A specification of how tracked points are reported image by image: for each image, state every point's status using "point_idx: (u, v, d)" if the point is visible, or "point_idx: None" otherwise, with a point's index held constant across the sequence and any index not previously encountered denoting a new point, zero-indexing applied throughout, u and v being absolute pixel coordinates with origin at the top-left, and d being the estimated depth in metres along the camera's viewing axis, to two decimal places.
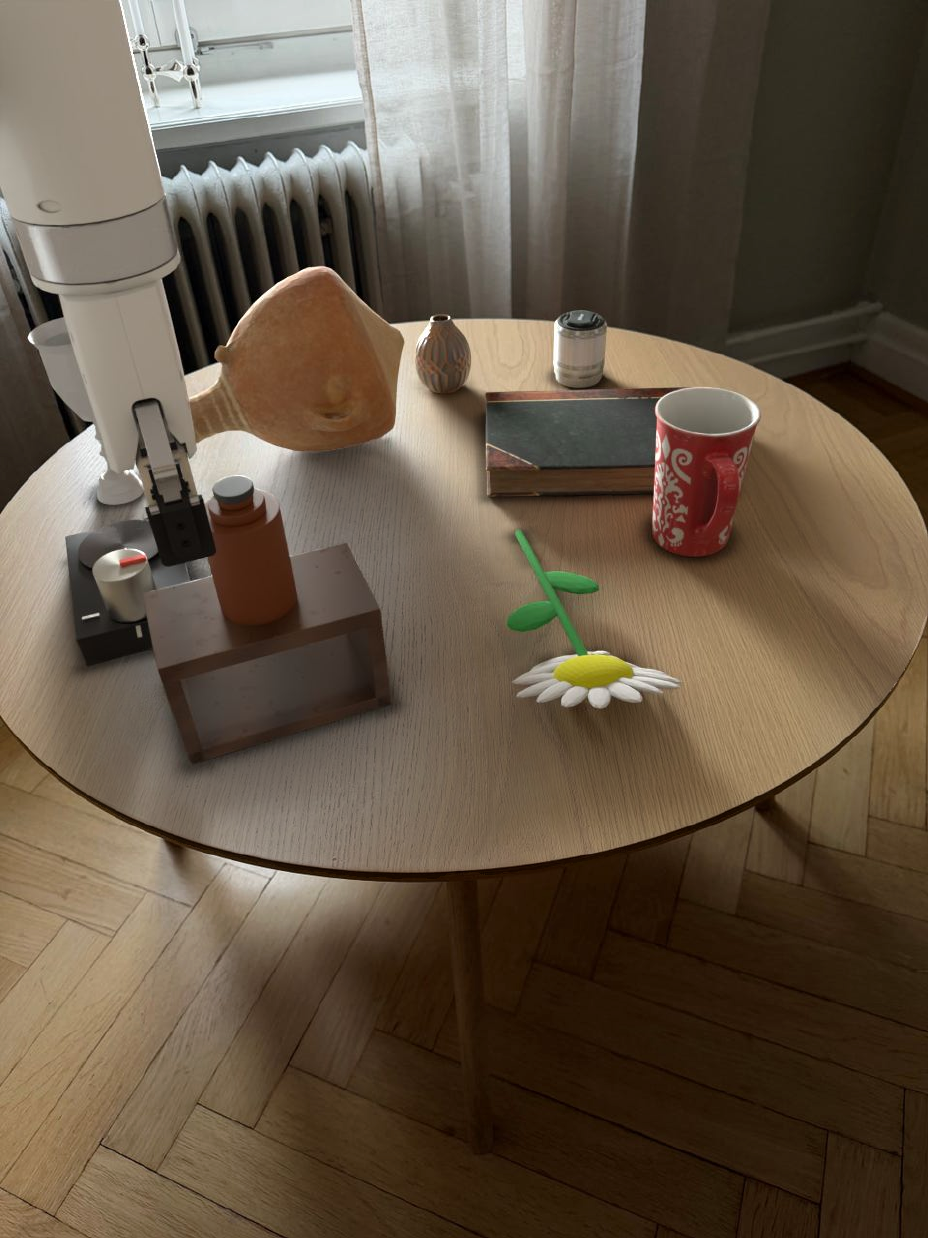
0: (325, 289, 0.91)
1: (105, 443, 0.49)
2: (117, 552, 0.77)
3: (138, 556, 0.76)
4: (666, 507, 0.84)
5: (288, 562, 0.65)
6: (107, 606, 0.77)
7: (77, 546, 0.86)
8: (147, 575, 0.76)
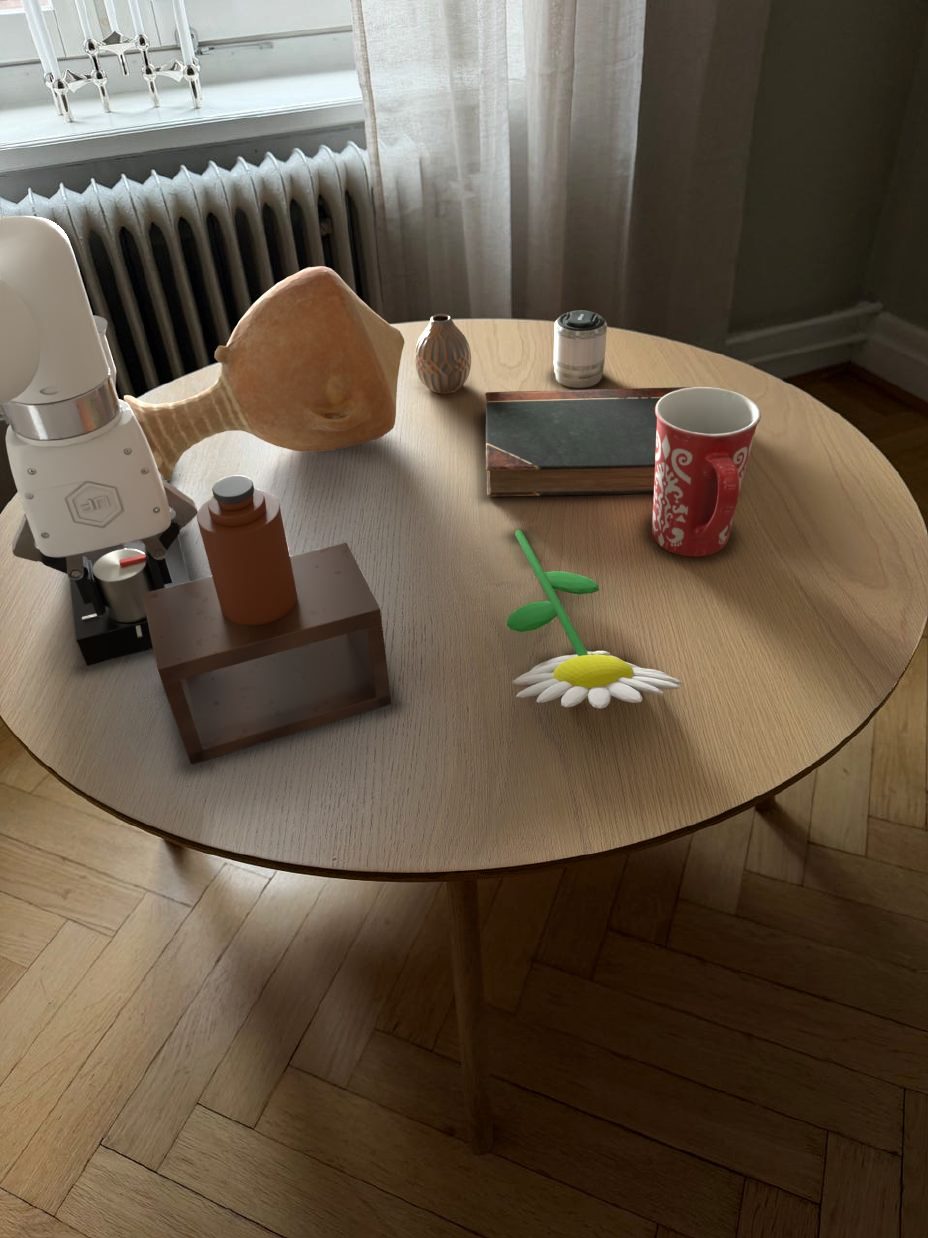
0: (325, 289, 0.91)
1: (163, 507, 0.72)
2: (117, 552, 0.77)
3: (138, 556, 0.76)
4: (666, 507, 0.84)
5: (288, 562, 0.65)
6: (107, 606, 0.77)
7: None
8: (147, 575, 0.76)
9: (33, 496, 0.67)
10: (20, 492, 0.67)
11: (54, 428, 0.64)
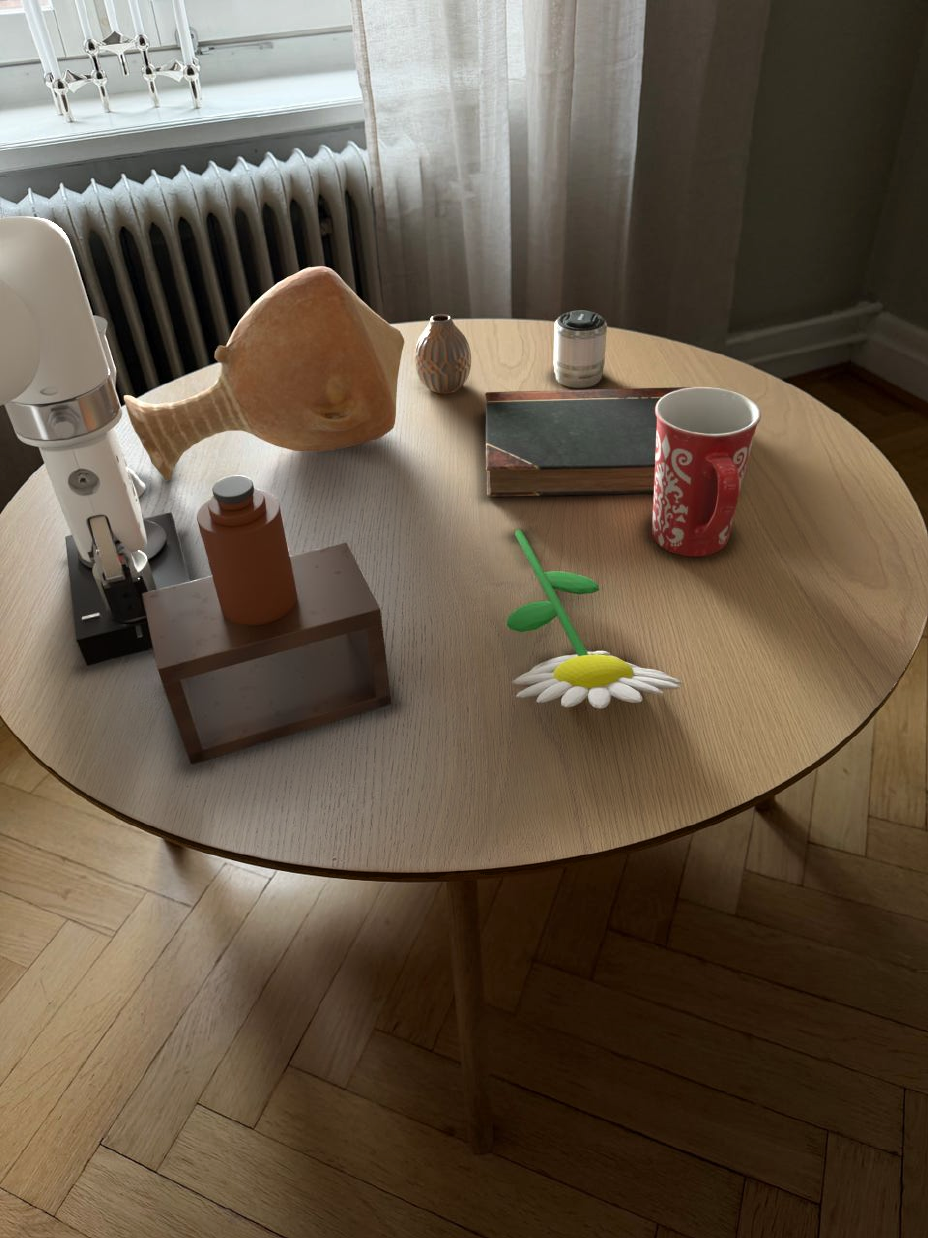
0: (325, 289, 0.91)
1: None
2: (97, 569, 0.76)
3: None
4: (666, 507, 0.84)
5: (288, 562, 0.65)
6: None
7: None
8: None
9: (125, 486, 0.68)
10: (120, 488, 0.67)
11: (116, 398, 0.67)
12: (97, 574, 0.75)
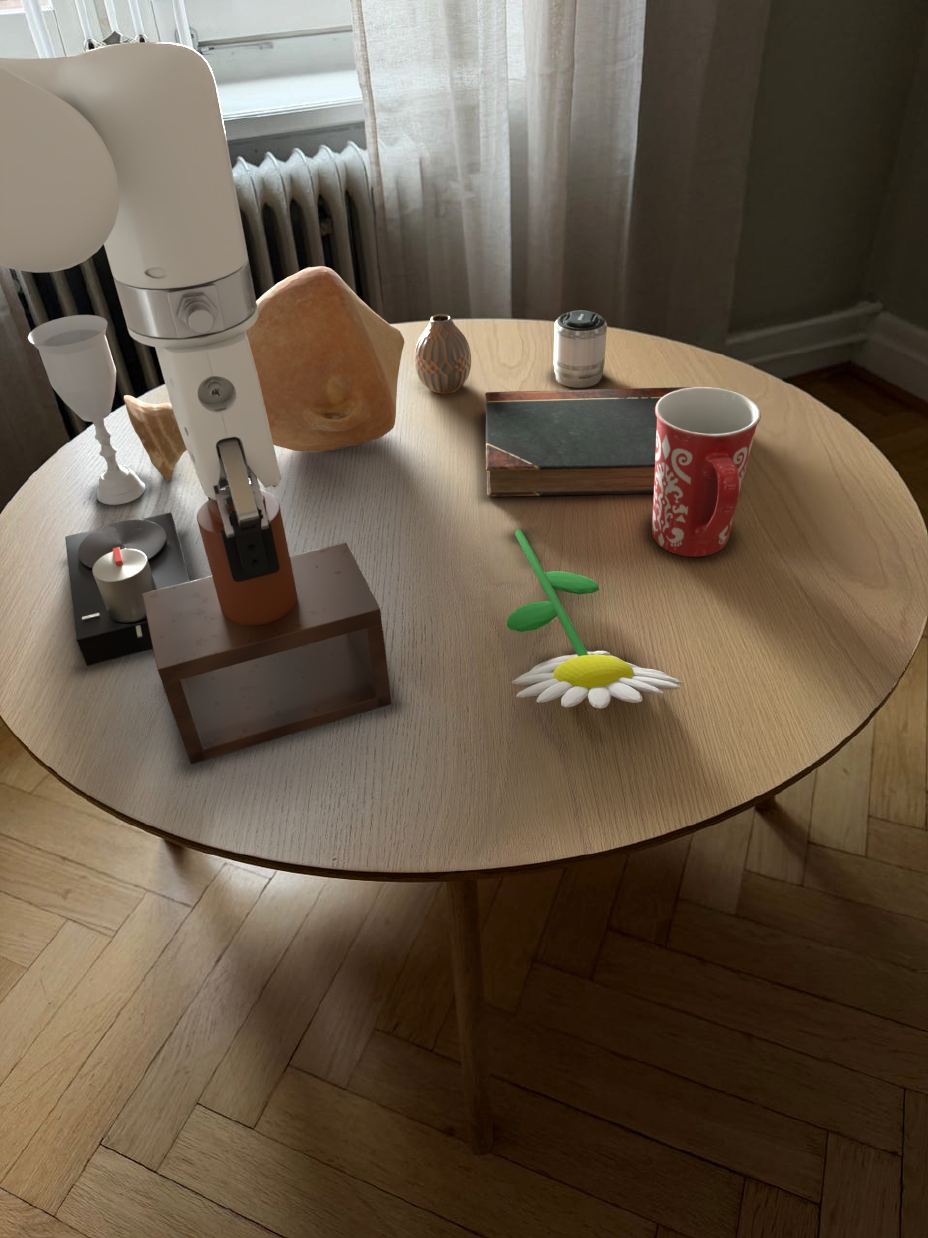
0: (325, 289, 0.91)
1: None
2: (97, 569, 0.76)
3: (115, 551, 0.77)
4: (666, 507, 0.84)
5: (288, 562, 0.65)
6: None
7: (77, 546, 0.86)
8: None
9: (262, 402, 0.54)
10: (259, 403, 0.54)
11: None
12: (97, 574, 0.75)
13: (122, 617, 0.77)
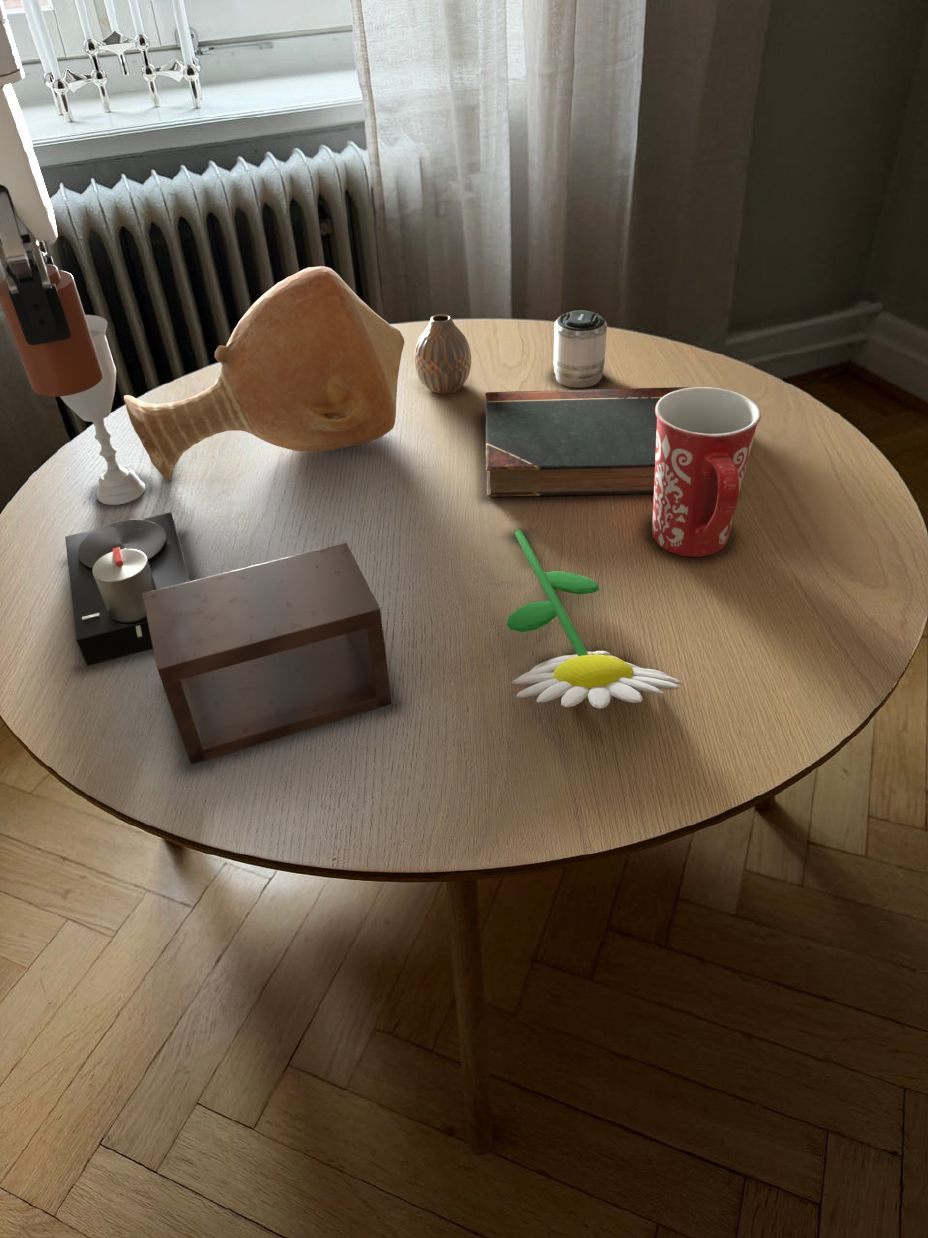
0: (325, 289, 0.91)
1: None
2: (97, 569, 0.76)
3: (115, 551, 0.77)
4: (666, 507, 0.84)
5: (87, 337, 0.72)
6: None
7: (77, 546, 0.86)
8: None
9: (28, 156, 0.61)
10: (21, 153, 0.60)
11: (15, 53, 0.60)
12: (97, 574, 0.75)
13: (122, 617, 0.77)
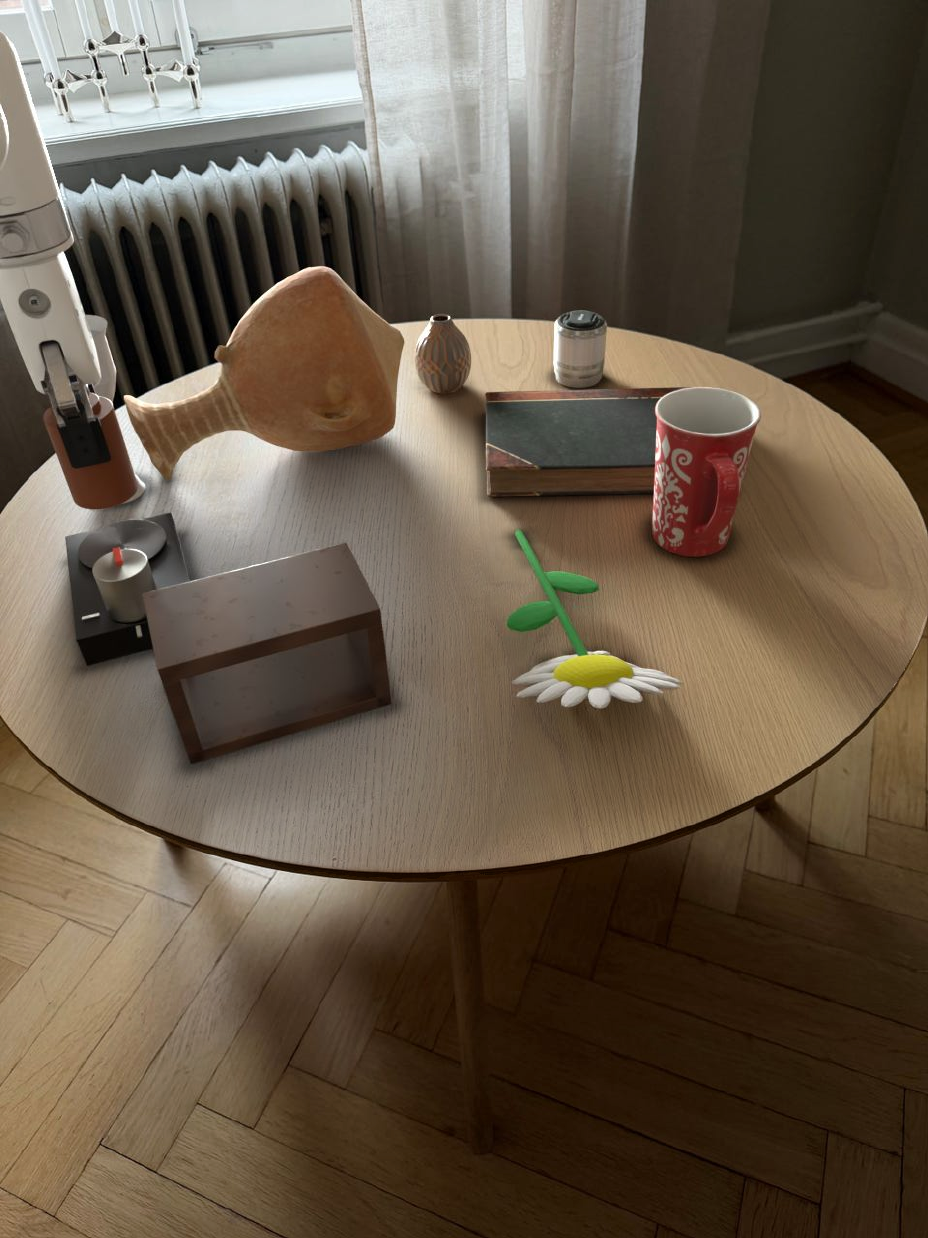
0: (325, 289, 0.91)
1: None
2: (97, 569, 0.76)
3: (115, 551, 0.77)
4: (666, 507, 0.84)
5: (124, 456, 0.79)
6: None
7: (77, 546, 0.86)
8: None
9: (77, 312, 0.68)
10: (72, 312, 0.68)
11: (67, 223, 0.67)
12: (97, 574, 0.75)
13: (122, 617, 0.77)
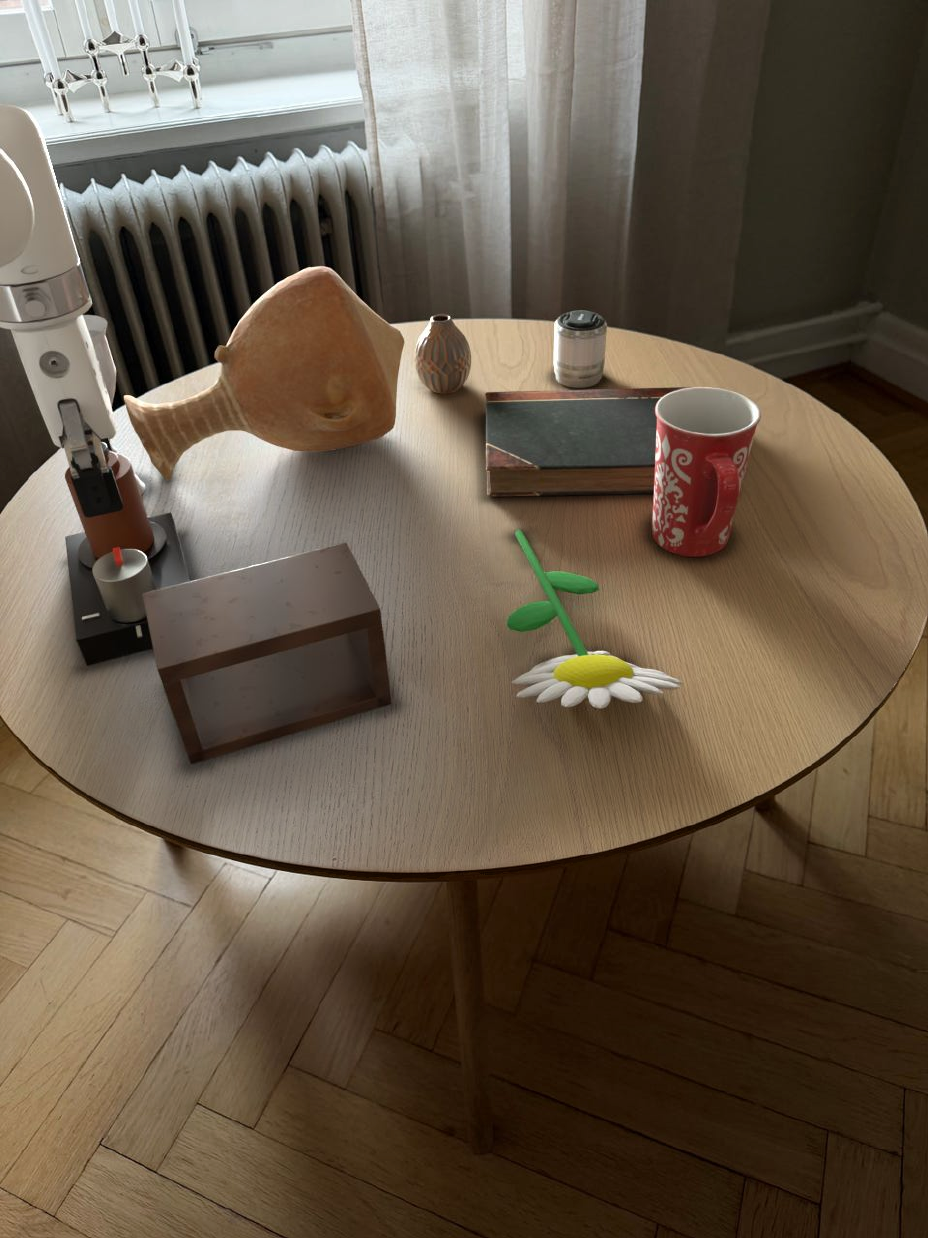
0: (325, 289, 0.91)
1: None
2: (97, 569, 0.76)
3: (115, 551, 0.77)
4: (666, 507, 0.84)
5: (141, 511, 0.83)
6: None
7: (77, 546, 0.86)
8: None
9: (94, 372, 0.71)
10: (90, 372, 0.70)
11: (85, 287, 0.70)
12: (97, 574, 0.75)
13: (122, 617, 0.77)
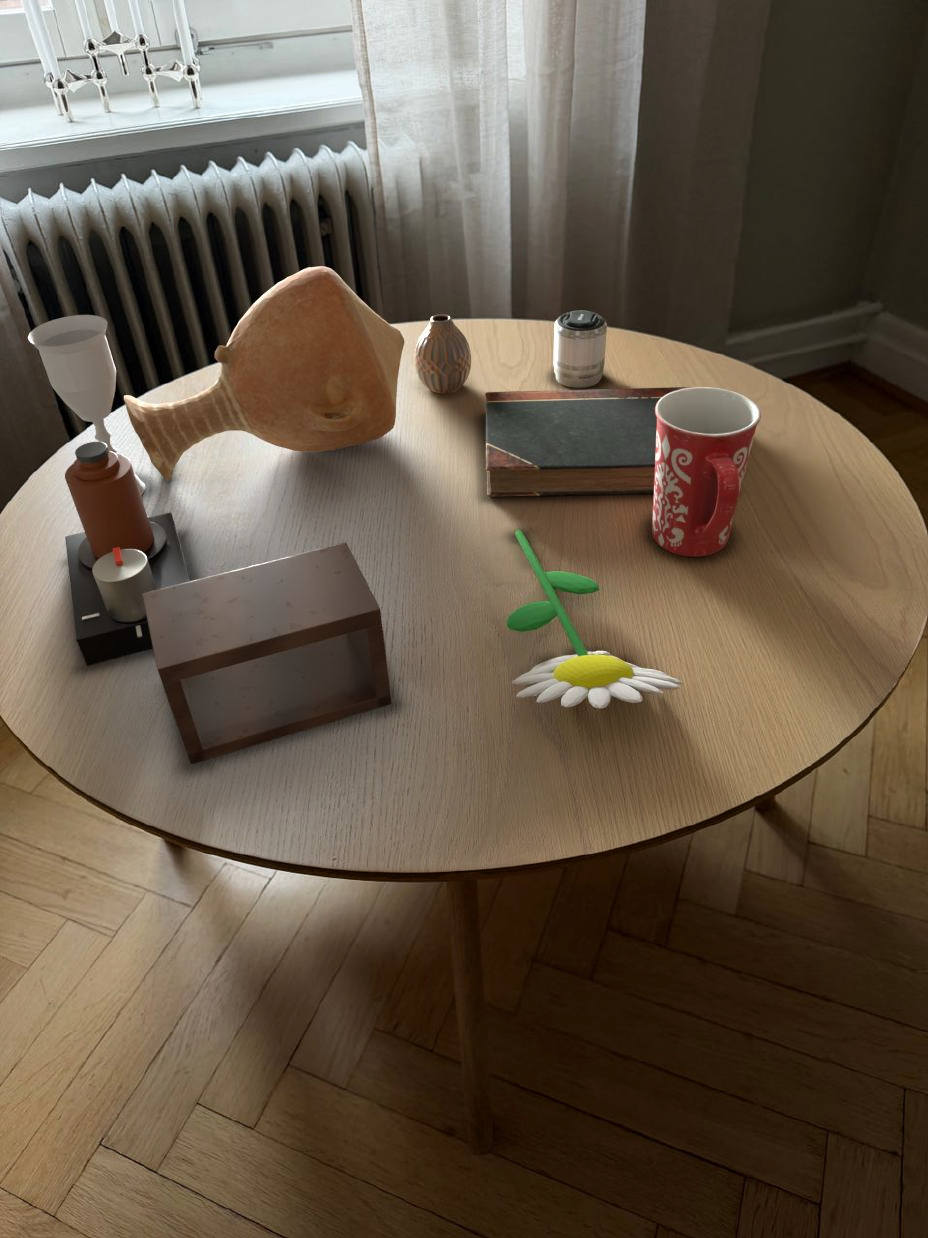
0: (325, 289, 0.91)
1: None
2: (97, 569, 0.76)
3: (115, 551, 0.77)
4: (666, 507, 0.84)
5: (141, 511, 0.83)
6: None
7: (77, 546, 0.86)
8: None
9: None
10: None
11: None
12: (97, 574, 0.75)
13: (122, 617, 0.77)
